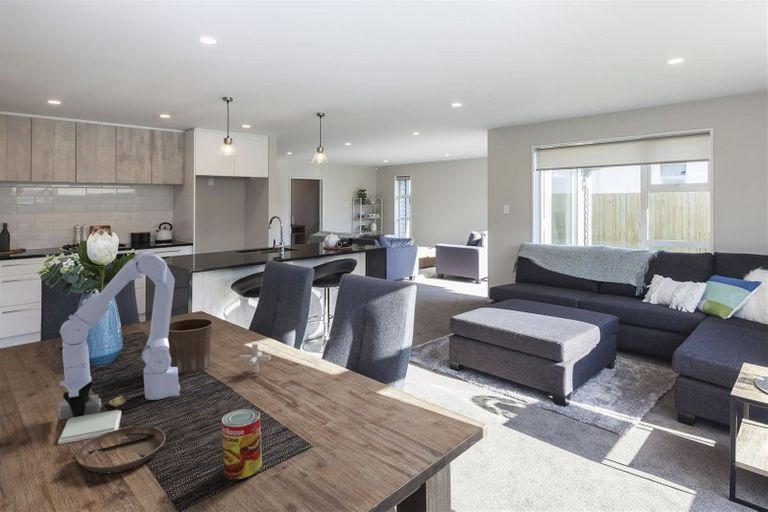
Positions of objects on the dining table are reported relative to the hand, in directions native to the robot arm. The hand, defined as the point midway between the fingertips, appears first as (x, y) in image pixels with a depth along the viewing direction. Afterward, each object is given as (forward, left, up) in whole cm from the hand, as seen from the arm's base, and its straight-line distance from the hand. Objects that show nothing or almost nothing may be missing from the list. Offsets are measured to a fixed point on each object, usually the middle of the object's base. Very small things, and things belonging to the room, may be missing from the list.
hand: (80, 412), depth 122 cm
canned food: (-36, +45, -2) cm, 58 cm away
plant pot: (-29, -27, -2) cm, 40 cm away
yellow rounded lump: (-10, -3, 0) cm, 10 cm away
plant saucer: (-12, +27, -2) cm, 30 cm away
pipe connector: (-49, -13, -2) cm, 51 cm away
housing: (0, 0, -2) cm, 2 cm away
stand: (-4, +11, -1) cm, 12 cm away
